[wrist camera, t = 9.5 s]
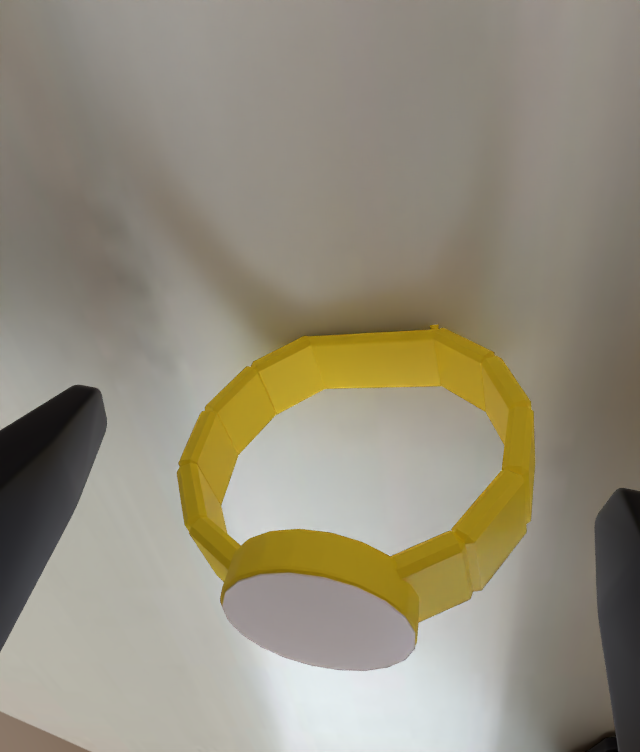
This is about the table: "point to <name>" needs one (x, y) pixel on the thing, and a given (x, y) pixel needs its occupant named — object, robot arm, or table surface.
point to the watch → (338, 553)
